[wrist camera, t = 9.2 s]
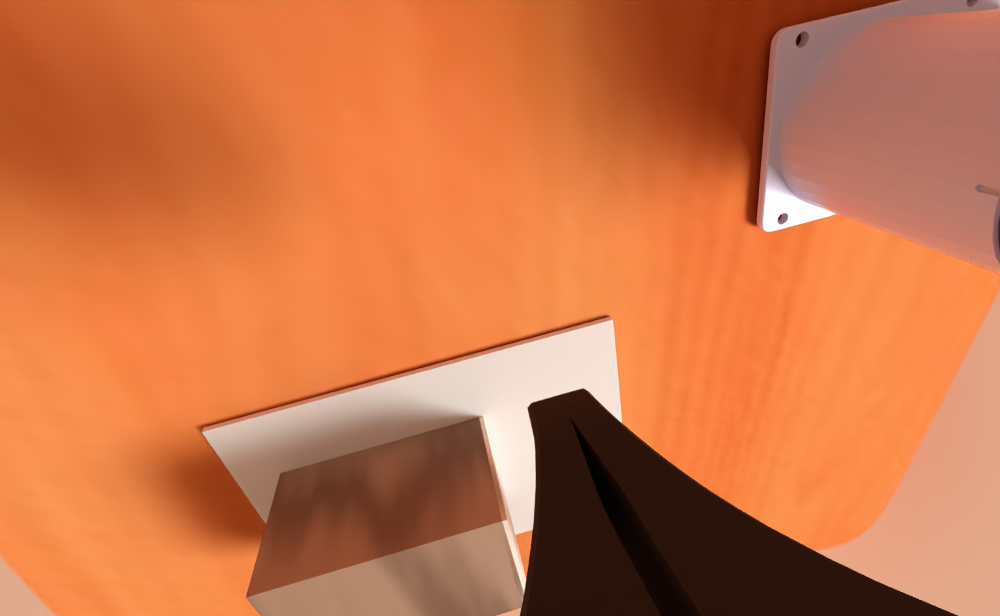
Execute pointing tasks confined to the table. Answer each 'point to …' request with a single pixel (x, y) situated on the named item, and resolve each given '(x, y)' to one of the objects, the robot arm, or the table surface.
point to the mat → (428, 412)
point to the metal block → (393, 533)
